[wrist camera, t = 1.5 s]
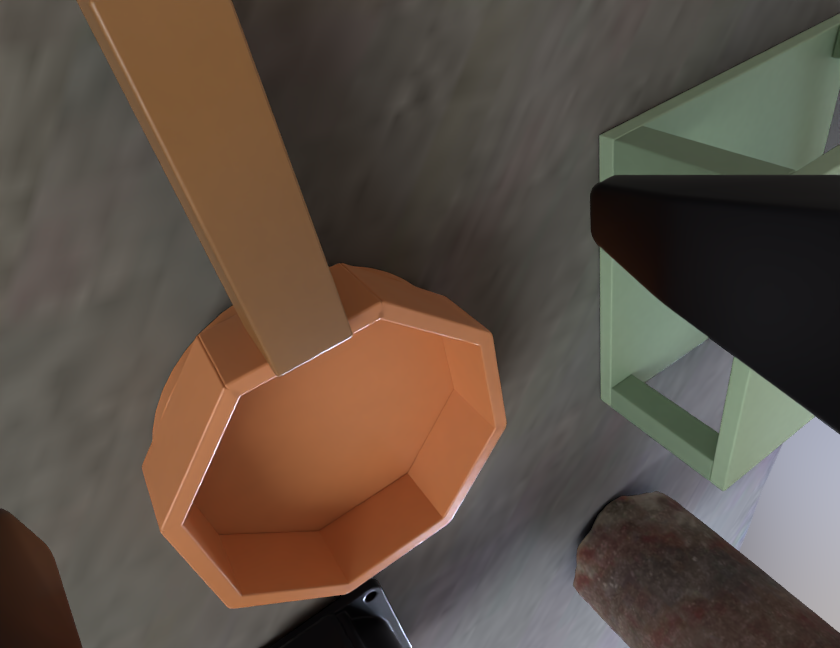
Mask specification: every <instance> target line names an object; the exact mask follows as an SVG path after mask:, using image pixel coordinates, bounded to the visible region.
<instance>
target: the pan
mask: <svg viewBox="0 0 840 648" xmlns="http://www.w3.org/2000/svg"><path fill="white" fill-rule="evenodd" d="M76 1H77V3H78V5H79V6H80V8H81V10H82V12H83V14H84V16H85V18H86V20H87V22H88V24H89V26H90V28H91V30H92V32H93V34H94V36H95V38H96V40H97V41H98V43H99V45H100V47H101V49H102V51H103V53H104V55H105V57H106V59H107V61H108V63H109V65H110V67H111V69H112V71H113V73H114V75H115V76H116V78H117V80H118V82H119V84H120V86H121V88H122V90H123V92H124V94H125V96H126V98H127V100H128V102H129V104H130V106H131V108H132V110H133V111H134V113H135V115H136V117H137V119H138V121H139V123H140V125H141V127H142V129H143V131H144V133H145V135H146V137H147V139H148V141H149V143H150V145H151V146H152V148H153V150H154V152H155V154H156V156H157V158H158V160H159V162H160V164H161V166H162V168H163V170H164V172H165V174H166V176H167V178H168V180H169V181H170V183H171V185H172V187H173V189H174V191H175V193H176V195H177V197H178V199H179V201H180V203H181V205H182V207H183V209H184V211H185V213H186V215H187V216H188V218H189V220H190V222H191V224H192V226H193V228H194V230H195V232H196V234H197V236H198V238H199V240H200V242H201V244H202V246H203V248H204V250H205V251H206V253H207V255H208V257H209V259H210V261H211V263H212V265H213V267H214V269H215V271H216V273H217V275H218V277H219V279H220V281H221V283H222V285H223V286H224V288H225V290H226V292H227V294H228V296H229V298H230V300H231V302H232V304H233V305H232V306H231V307H230V308H228V309H227V310H225V311H224V312H223V313H221V314H220V315H219V316H218V317H217V318H216V319H215V320H214V321H213V322H211V323H210V324H209V325H208V326H207V327H206V328H205V329H204V330H203V331H202V332H201V333H199V334H198V336H196V338H195V340H194V341H193V342H192V343H191V345H190V346H189V347H188V348H187V349H186V351H185V352H184V354H183V355H182V357H181V358H180V360H179V361H178V363H177V364H176V366H175V367H174V368H173V370H172V372H171V374H170V376H169V378H168V380H167V382H166V384H165V386H164V388H163V391H162V394H161V397H160V400H159V403H158V406H157V409H156V413H155V419H154V425H153V441H152V443H151V446H150V448H149V450H148V453H147V455H146V458H145V460H144V462H143V465H142V471H143V474H144V477H145V481H146V484H147V488H148V491H149V495H150V498H151V501H152V505H153V508H154V512H155V515H156V518H157V522H158V525H159V529H160V532H161V533H162V535H163V536H164V537H165V538H166V539H167V540H168V541H169V542H170V543H171V545H172V546H173V547H174V548H175V549H176V550H177V551H178V552H179V554H180V555H181V556H182V557H183V558H184V559H185V560H186V561H187V562H188V564H189V565H190V566H191V567H192V568H193V569H194V570H195V571H196V572H197V574H198V575H199V576H200V577H201V578H202V579H203V580H204V581H205V583H206V584H207V585H208V586H209V587H210V588H211V589H212V590H213V591H214V593H215V594H216V595H217V596H218V597H219V598H220V599H221V600H222V602H223V603H224V604H225V605H226V606H227V607H228V608H231V609H234V608H242V607H250V606H258V605H266V604H274V603H282V602H289V601H297V600H305V599H313V598H321V597H329V596H337V595H345V594H347V593H350V592H351V591H353V590H354V589H356V588H357V587H358V586H360V585H361V584H363V583H364V582H366V581H367V580H368V579H370V578H371V577H373V576H374V575H376V574H377V573H378V572H380V571H381V570H383V569H384V568H386V567H387V566H388V565H390V564H391V563H393V562H394V561H396V560H397V559H398V558H400V557H401V556H403V555H404V554H406V553H407V552H408V551H410V550H411V549H413V548H414V547H416V546H417V545H418V544H420V543H421V542H423V541H424V540H426V539H427V538H428V537H430V536H431V535H433V534H434V533H436V532H437V531H438V530H440V529H441V528H443V527H444V526H446V525H447V524H448V523H449V522H450V521H451V520H452V518H453V517H454V515H455V513H456V511H457V510H458V508H459V506H460V505H461V503H462V501H463V499H464V498H465V496H466V494H467V493H468V491H469V489H470V487H471V486H472V484H473V482H474V481H475V479H476V477H477V476H478V474H479V472H480V470H481V469H482V467H483V465H484V464H485V462H486V460H487V458H488V457H489V455H490V453H491V452H492V450H493V448H494V446H495V445H496V443H497V441H498V440H499V438H500V436H501V435H502V433H503V431H504V429H505V428H506V424H507V421H506V415H505V409H504V402H503V396H502V390H501V384H500V378H499V372H498V366H497V359H496V353H495V347H494V341H493V335H492V333H491V332H490V331H489V330H488V329H487V328H485V327H484V326H483V325H481V324H480V323H479V322H478V321H476V320H475V319H474V318H472V317H471V316H470V315H469V314H467V313H466V312H465V311H463V310H462V309H461V308H460V307H458V306H457V305H456V304H455V303H453V302H452V301H451V300H449V299H448V298H447V297H446V296H443V295H439V294H436V293H433V292H430V291H427V290H424V289H421V288H418V287H415V286H414V285H412V284H410V283H409V282H407V281H406V280H404V279H402V278H400V277H398V276H395V275H393V274H391V273H388V272H385V271H381V270H377V269H373V268H367V267H357V266H351V265H348V264H345V263H341V264H340V263H338V264H336V265H334V266H332V267H329V266H328V264H327V261H326V258H325V255H324V253H323V250H322V247H321V244H320V242H319V239H318V236H317V233H316V231H315V228H314V225H313V222H312V220H311V217H310V214H309V211H308V209H307V206H306V203H305V200H304V198H303V195H302V192H301V189H300V187H299V184H298V181H297V178H296V176H295V173H294V170H293V167H292V165H291V162H290V159H289V156H288V154H287V151H286V148H285V145H284V142H283V140H282V137H281V134H280V131H279V129H278V126H277V123H276V120H275V118H274V115H273V112H272V109H271V107H270V104H269V101H268V98H267V96H266V93H265V90H264V87H263V85H262V82H261V79H260V76H259V74H258V71H257V68H256V65H255V63H254V60H253V57H252V54H251V52H250V49H249V46H248V43H247V41H246V38H245V35H244V32H243V30H242V27H241V24H240V21H239V19H238V16H237V13H236V10H235V8H234V5H233V2H232V0H76Z"/></svg>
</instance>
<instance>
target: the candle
mask: <svg viewBox="0 0 840 648" xmlns="http://www.w3.org/2000/svg"><path fill="white" fill-rule="evenodd" d="M573 586H574V587H575V589H576V590H577V592H578V593H579V595H580V596H581V597H582V598H583V599H584V600H585V601H586V602H587V603H588V604H589V605H590V606H591V607H592V608H593V609H594V610H595V611H596V612H597V614H598V615H599V616H600V617H601V618H602V619H603V620H604V621H605V622H606V623H607V624H608V625H609V626H610V627H611V629H612V630H613V631H614V632H615V633H616V634H617V635H618V636H619V637H620V638H621V639H622V640H623V641H624V642H625V643H626V644H627V645H628V646H629V647H630V648H840V633H839V632H838V631H836V630H835V629H834V628H833V627H831V626H830V625H829V624H828V623H826V622H825V621H824V620H823V619H822V618H820V617H819V616H818V615H817V614H816V613H814V612H813V611H812V610H811V609H809V608H808V607H807V606H805V605H804V604H803V603H802V602H801V601H799V600H798V599H797V598H796V597H794V596H793V595H792V594H790V593H789V592H788V591H787V590H786V589H785V588H783V587H782V586H781V585H780V584H778V583H777V582H776V581H775V580H774V579H772V578H771V577H770V576H769V575H768V574H766V573H765V572H764V571H763V570H762V569H760V568H759V567H758V566H756V565H755V564H754V563H753V562H752V561H750V560H749V559H748V558H747V557H745V556H744V555H743V554H741V553H740V552H739V551H738V550H737V549H735V548H734V547H733V546H732V545H730V544H729V543H728V542H727V541H725V540H724V539H723V538H722V537H720V536H719V535H718V534H717V533H716V532H714V531H713V530H712V529H711V528H709V527H708V526H707V525H705V524H704V523H703V522H702V521H700V520H699V519H698V518H697V517H695V516H694V515H693V514H691V513H690V512H689V511H687V510H686V509H685V508H683V507H682V506H681V505H680V504H679V503H677V502H676V501H675V500H673V499H672V498H670V497H668V496H667V495H665V494H663V493H660V492H658V491H655V492H652V493H644V494H640V495H634V496H621V497H619V498H617V499H615V500H614V501H612V502H610V503H609V504H608V505H607V506H606V507H605V508H604V509H603V510H602V511H601V512H600V513H599V514H598V516H597V518H596V520H595V522H594V524H593V526H592V529H591V531H590V532H589V533H588V534H587V535H586V537H585V538H584V539H583V540H582V542H581V543H580V544H579V546H578V548H577V567H576V570H575V579H574V582H573Z"/></svg>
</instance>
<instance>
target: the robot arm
mask: <svg viewBox="0 0 840 648" xmlns="http://www.w3.org/2000/svg"><path fill="white" fill-rule="evenodd" d="M590 219H591V234H592V237H593V239H594V241H595V242H596V243H597V245H598V246H599V247H601V248H602V249H603V250H604V251H605V252H606V253H607V254H608V255H609V256H610V257H612V258H613V259H614V260H615V261H616V262H617V263H618V264H619V265H620V266H621V267H623V268H624V269H625V270H626V271H627V272H628V273H629V274H630V275H631V276H632V277H634V278H635V279H636V280H637V281H638V282H639V283H640V284H641V285H642V286H643V287H645V288H646V289H647V290H648V291H649V292H650V293H651V294H652V295H654V296H655V297H656V298H657V299H658V300H659V301H661V302H662V303H663V304H664V305H666V306H667V307H668V308H669V309H671V310H672V311H673V312H675V313H676V314H678V315H679V316H680V317H682V318H683V319H684V320H686V321H687V322H688V323H690V324H691V325H692V326H694V327H695V328H696V329H698V330H699V331H701V332H702V333H703V334H705V335H706V336H707V337H709V338H710V339H711V340H713V341H714V342H715V343H717V344H718V345H719V346H721V347H722V348H724V349H725V350H726V351H728V352H729V353H730V354H732V355H733V356H734V357H736V358H737V359H738V360H740V361H741V362H742V363H744V364H745V365H747V366H748V367H749V368H751V369H752V370H753V371H755V372H756V373H757V374H759V375H760V376H761V377H763V378H764V379H765V380H767V381H768V382H770V383H771V384H772V385H774V386H775V387H776V388H778V389H779V390H780V391H782V392H783V393H784V394H786V395H787V396H788V397H790V398H791V399H793V400H794V401H795V402H797V403H798V404H799V405H801V406H802V407H803V408H805V409H806V410H807V411H809V412H810V413H812V414H813V415H814V416H816V417H817V418H818V419H820V420H821V421H822V422H824V423H825V424H826V425H828V426H829V427H831V428H832V429H833V430H835V431H836V432H837V433H839V434H840V175H614V176H611V177H609V178H607V179H605V180H603V181H601V182H600V183H598V184H596V185H595V186H594V187H593V188H592V191H591V193H590ZM0 648H82V645H81V641H80V638H79V635H78V632H77V629H76V625H75V622H74V619H73V616H72V613H71V610H70V606H69V603H68V600H67V597H66V594H65V591H64V587H63V584H62V581H61V578H60V575H59V571H58V568H57V565H56V562H55V559H54V557H53V555H52V553H51V551H50V549H49V548H48V546H47V545H46V544H45V543H44V542H43V541H42V540H41V539H40V538H38V537H37V536H36V535H35V534H34V533H33V532H32V531H30V530H29V529H28V528H27V527H26V526H25V525H24V524H22V523H21V522H20V521H19V520H18V519H17V518H16V517H14V516H13V515H12V514H11V513H10V512H8V511H6V510H4V509H0ZM269 648H412V646H411V644H410V643H409V641H408V639H407V637H406V635H405V633H404V631H403V629H402V627H401V625H400V623H399V621H398V619H397V617H396V615H395V613H394V611H393V609H392V607H391V605H390V603H389V601H388V599H387V597H386V595H385V593H384V591H383V589H382V587H381V586H380V584H379V583H378V581H377V580H376V579H375V578H371V579H368V580H367V581H366V582H364V583H363V584H361V585H360V586H358V587H357V588H356V589H354V590H353V591H351V592H350V593H347V594H345V595H343V596H342V597H340V598H339V599H338V600H336V601H335V602H333V603H332V604H330V605H329V606H328V607H326V608H325V609H323V610H322V611H320V612H319V613H318V614H316V615H315V616H313V617H312V618H310V619H309V620H308V621H306V622H305V623H303V624H302V625H300V626H299V627H298V628H296V629H295V630H293V631H292V632H290V633H289V634H288V635H286V636H285V637H283V638H282V639H280V640H279V641H278V642H276V643H275V644H273V645H272V646H270V647H269Z"/></svg>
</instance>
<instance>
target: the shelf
mask: <svg viewBox="0 0 840 648" xmlns="http://www.w3.org/2000/svg"><path fill="white" fill-rule="evenodd" d="M839 89H840V14H838V15H836V16H834V17H832V18H830V19H828V20H826V21H824V22H822V23H820V24H818V25H816V26H814V27H812V28H810V29H808V30H806V31H804V32H802V33H800V34H798V35H796V36H794V37H792V38H790V39H788V40H786V41H784V42H782V43H780V44H778V45H776V46H774V47H773V48H771V49H769V50H767V51H765V52H763V53H761V54H759V55H757V56H755V57H753V58H751V59H749V60H747V61H745V62H743V63H741V64H739V65H737V66H735V67H733V68H731V69H729V70H727V71H725V72H723V73H721V74H719V75H717V76H715V77H713V78H711V79H709V80H707V81H706V82H704V83H702V84H700V85H698V86H696V87H694V88H692V89H690V90H688V91H686V92H684V93H682V94H680V95H678V96H676V97H674V98H672V99H670V100H668V101H666V102H664V103H662V104H660V105H658V106H656V107H654V108H652V109H650V110H648V111H646V112H644V113H642V114H641V115H639V116H637V117H635V118H633V119H631V120H629V121H627V122H625V123H623V124H621V125H619V126H617V127H615V128H613V129H611V130H609V131H607V132H605V133H603V134H601V135H600V136H599V183H600V182H601V181H603V180H605V179H607V178H609V177H611V176H614V175H840V145H838V146H837V147H835V148H833V149H832V150H830V151H828V152H827V153H825V154H823V153H824V149H825V145H826V141H827V137H828V133H829V129H830V125H831V121H832V117H833V113H834V109H835V105H836V101H837V97H838V93H839ZM708 338H709V337H707V336H706V335H705V334H703V333H702V332H701V331H699V330H698V329H696V328H695V327H694V326H692V325H691V324H690V323H688V322H687V321H686V320H684V319H683V318H682V317H680V316H679V315H678V314H676V313H675V312H673V311H672V310H671V309H669V308H668V307H667V306H666V305H664V304H663V303H662V302H661V301H659V300H658V299H657V298H656V297H655V296H654V295H652V294H651V293H650V292H649V291H648V290H647V289H646V288H645V287H643V286H642V285H641V284H640V283H639V282H638V281H637V280H636V279H635V278H634V277H632V276H631V275H630V274H629V273H628V272H627V271H626V270H625V269H624V268H623V267H621V266H620V265H619V264H618V263H617V262H616V261H615V260H614V259H613V258H612V257H610V256H609V255H608V254H607V253H606V252H605V251H604V250H603V249H602V248H601V247H600V380H601V400H602V401H604V402H605V403H606V404H608V405H609V406H611V407H612V408H613V409H614V410H615V411H617V412H618V413H619V414H621V415H622V416H623V417H625V418H626V419H627V420H629V421H630V422H631V423H633V424H634V425H635V426H637V427H638V428H639V429H641V430H642V431H643V432H645V433H646V434H647V435H649V436H650V437H651V438H653V439H654V440H655V441H657V442H658V443H659V444H661V445H662V446H663V447H665V448H666V449H667V450H669V451H670V452H671V453H673V454H674V455H675V456H677V457H678V458H679V459H681V460H682V461H683V462H685V463H686V464H687V465H689V466H690V467H691V468H693V469H694V470H695V471H697V472H698V473H699V474H701V475H702V476H703V477H705V478H706V479H707V480H710V482H711V483H713V484H714V485H715V486H717V487H718V488H719V489H721V490H722V491H725V490H726V489H727V488H729V487H730V486H731V485H732V484H733V483H735V482H736V481H737V480H738V479H740V478H741V477H742V476H743V475H744V474H746V473H747V472H748V471H749V470H751V469H752V468H753V467H754V466H755V465H757V464H758V463H759V462H760V461H761V460H763V459H764V458H765V457H766V456H768V455H769V454H770V453H771V452H772V451H774V450H775V449H776V448H777V447H779V446H780V445H781V444H782V443H783V442H785V441H786V440H787V439H788V438H789V437H791V436H792V435H793V434H794V433H796V432H797V431H798V430H799V429H800V428H802V427H803V426H804V425H805V424H806V423H808V422H809V421H810V420H811V419H813V418H814V417H815V416H814V415H813V414H812V413H810V412H809V411H807V410H806V409H805V408H803V407H802V406H801V405H799V404H798V403H797V402H795V401H794V400H793V399H791V398H790V397H788V396H787V395H786V394H784V393H783V392H782V391H780V390H779V389H778V388H776V387H775V386H774V385H772V384H771V383H770V382H768V381H767V380H765V379H764V378H763V377H761V376H760V375H759V374H757V373H756V372H755V371H753V370H752V369H751V368H749V367H748V366H747V365H745V364H744V363H742V362H741V361H740V360H738V359H737V358H736V357H734V359H733V364H732V369H731V374H730V379H729V385H728V390H727V395H726V400H725V405H724V410H723V416H722V421H721V426H720V431H719V433H718V432H716V431H715V430H713V429H712V428H710V427H709V426H707V425H706V424H704V423H703V422H701V421H700V420H698V419H697V418H695V417H694V416H692V415H691V414H689V413H688V412H687V411H685V410H684V409H682V408H681V407H679V406H678V405H676V404H675V403H673V402H672V401H670V400H669V399H667V398H666V397H664V396H663V395H661V394H660V393H659V392H657V391H656V390H654V389H653V388H651V387H650V386H648V385H647V384H645V382H646V381H648V380H649V379H651V378H652V377H654V376H655V375H656V374H658V373H659V372H661V371H662V370H664V369H665V368H666V367H668V366H669V365H671V364H672V363H674V362H675V361H676V360H678V359H679V358H681V357H682V356H684V355H685V354H686V353H688V352H689V351H691V350H692V349H694V348H695V347H696V346H698V345H699V344H701V343H702V342H704V341H705V340H707V339H708Z"/></svg>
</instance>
